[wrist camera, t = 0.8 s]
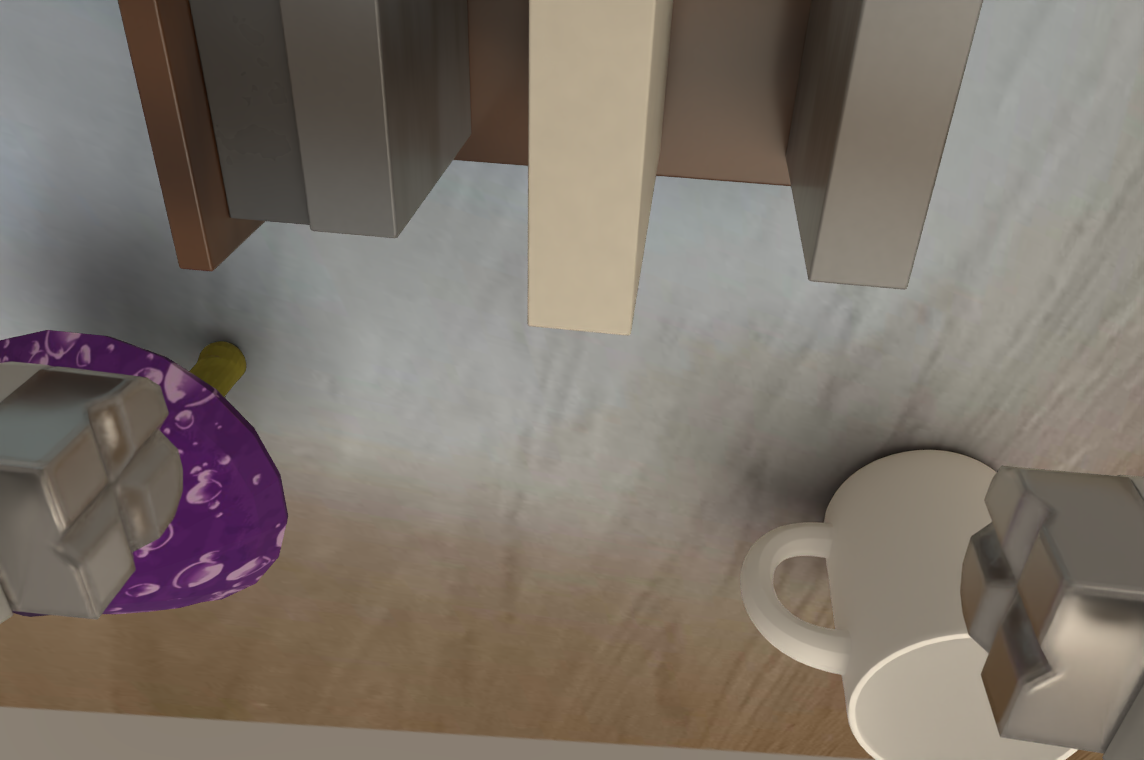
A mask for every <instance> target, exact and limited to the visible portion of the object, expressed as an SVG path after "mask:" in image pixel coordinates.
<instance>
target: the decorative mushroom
mask: <svg viewBox="0 0 1144 760" xmlns="http://www.w3.org/2000/svg"><path fill="white" fill-rule="evenodd" d="M4 362H22V363H32V364H42V365H49V366H53V367H56V366H60V367H68V368H76V369H84V370H92V371H100V372H108V373H116V374H124V375H132V376H140V377H147V378H149V379H150V380H152V381H153V382H155V383H156V384H158V385H159V386H160V387H161V390H162V393H163V397H164V400H165V403H166V406H167V410H168V413H169V414H168V416H167V418H166V419H165V421H164V423H163V424H162V426H161V428H160V429H159V430H160V431H161V432H162V433H163V434H164V435H165V436H166V438H167V439H168V440H169V441H170V442H171V443H172V444H173V445H174V446H175V447H176V448H177V449H178V451H179V455H180V459H181V463H182V468H183V492H182V495H181V498H180V501H179V504H178V508H177V511H176V514H175V517H174V519H173V520H172V522H171V523H170V524H169V526H168V527H167V529H166V530H165V531H164V533H163V534H162V536H161V537H160V538H159V539H157V540H155V541H153V542H151V543H149V544H147V545H146V546H144V547H142V548H140V549H138V550H136V551H134V552H133V555H134V562H135V568H136V570H135V571H134V573H133V574H132V575H131V576H130V578H129V579H128V580H127V582H126V583H125V584H124V586H123V587H122V588H121V589H120V591H119V592H118V593H117V595H116V596H115V597H114V599H113V600H112V601H111V602H110V604H109V605H108V606H107V608H106V609H105V610H104V612H103V613H102V614H125V613H138V612H149V611H158V610H166V609H174V608H181V607H185V606H189V605H192V604H196V603H200V602H206V601H213V600H219V599H223V598H226V597H228V596H230V595H232V594H234V593H236V592H238V591H240V590H243V589H245V588H247V587H249V586H251V585H253V584H255V583H257V581H258V580H259V579H260V578H261V577H262V576H263V574H264V573H265V572H266V571H267V570H268V569H269V567H270V566H271V565H272V564H273V563H274V562H275V560H276V559H277V558H278V557H279V553H280V549H281V545H282V541H283V536H284V532H285V528H286V524H287V519H288V513H287V507H286V502H285V497H284V491H283V486H282V481H281V476H280V473H279V471H278V469H277V467H276V466H275V464H274V462H273V460H272V459H271V457H270V455H269V453H268V452H267V450H266V448H265V446H264V444H263V443H262V441H261V439H260V437H259V436H258V434H257V432H256V430H255V429H254V427H253V426H252V425H251V424H250V423H249V422H248V421H247V420H246V419H245V418H244V417H243V416H242V415H241V414H240V413H239V412H238V411H237V410H236V409H235V408H234V407H233V406H232V405H231V404H230V403H229V402H228V401H227V400H226V399H225V398H224V397H225V395H226V394H227V393H228V392H229V390H230V389H231V388H232V387H233V385H234V384H235V383H236V382H237V381H238V380H239V379H240V378H241V376H242V375H243V374H244V373H245V371H246V361H245V357H244V355H243V354H242V352H241V351H240V350H239V349H238V348H237V347H236V346H234V345H233V344H231V343H228V342H223V341H218V342H214V343H211V344H209V345H207V346H206V347H205V348H204V349H203V350H202V351H201V353H200V355H199V358H198V361H197V363H196V365H195V366H194V367H193V368H192V369H191V370H190V371H187V370H186V369H184V368H183V367H181V366H180V365H178V364H177V363H175V362H173V361H172V360H170V359H169V358H167V357H165V356H162V355H159V354H156V353H154V352H151V351H148V350H145V349H143V348H140V347H137V346H135V345H132V344H129V343H126V342H124V341H121V340H118V339H115V338H112V337H108V336H102V335H92V334H82V333H72V332H62V331H52V330H45V331H40V332H36V333H31V334H27V335H22V336H18V337H13V338H9V339H4V340H0V363H4ZM12 612H13V613H16V614H19V615H22V616H29V617H33V616H44V615H48V614H38V613H29V612H19V611H12Z"/></svg>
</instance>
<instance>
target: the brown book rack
mask: <svg viewBox="0 0 1144 760" xmlns="http://www.w3.org/2000/svg"><path fill="white" fill-rule="evenodd" d="M982 3H983V0H673V8H672V20H671V31H670V43H669V54H668V66H667V77H666V89H665V101H664V112H663V124H662V135H661V147H660V154H659V160H658V166H657V172H656V176H667V177H680V178H693V179H706V180H719V181H732V182H745V183H757V184H770V185H783V186H791V188H792V194H793V199H794V204H795V210H796V215H797V221H798V226H799V231H800V237H801V242H802V248H803V253H804V258H805V264H806V269H807V275H808V279H809V281H814V282H826V283H837V284H848V285H860V286H871V287H883V288H894V289H906V288H907V287H908V283H909V279H910V275H911V272H912V268H913V264H914V260H915V256H916V253H917V249H918V245H919V241H920V237H921V234H922V230H923V226H924V222H925V219H926V215H927V211H928V207H929V203H930V200H931V196H932V192H933V188H934V185H935V181H936V177H937V173H938V169H939V166H940V162H941V158H942V154H943V150H944V147H945V143H946V139H947V135H948V132H949V128H950V124H951V120H952V116H953V113H954V109H955V105H956V101H957V97H958V94H959V90H960V86H961V82H962V79H963V75H964V71H965V67H966V63H967V60H968V56H969V52H970V48H971V45H972V41H973V37H974V33H975V29H976V26H977V22H978V18H979V14H980V10H981V7H982ZM118 4H119V8H120V12H121V17H122V21H123V25H124V30H125V34H126V38H127V43H128V47H129V51H130V56H131V60H132V64H133V68H134V73H135V77H136V81H137V86H138V90H139V94H140V99H141V103H142V107H143V112H144V116H145V120H146V125H147V129H148V133H149V138H150V142H151V146H152V151H153V155H154V159H155V164H156V168H157V172H158V177H159V181H160V185H161V190H162V194H163V198H164V203H165V207H166V211H167V216H168V220H169V224H170V229H171V233H172V237H173V241H174V246H175V250H176V254H177V259H178V263H179V267H180V268H181V269H191V270H202V271H213V270H215V269H216V268H217V267H218V266H219V265H220V264H221V263H222V262H223V261H224V260H225V259H226V258H227V257H228V256H229V255H230V254H231V253H232V252H233V251H234V250H236V249H237V248H238V247H239V246H240V245H241V244H242V243H243V242H244V241H245V240H246V239H247V238H248V237H249V236H250V235H251V234H252V233H253V232H254V231H255V230H256V229H258V228H259V227H260V226H261V225H262V224H263V223H264V222H265V221H271V222H283V223H294V224H306V225H310V229H311V230H312V231H319V232H331V233H342V234H354V235H365V236H377V237H388V238H397V237H398V236H399V234H400V233H401V232H402V230H403V229H404V228H405V226H406V225H407V223H408V222H409V221H410V219H411V218H412V216H413V215H414V214H415V212H416V211H417V209H418V208H419V207H420V205H421V204H422V202H423V201H424V200H425V198H426V197H427V195H428V194H429V193H430V191H431V190H432V188H433V187H434V186H435V184H436V183H437V181H438V180H439V179H440V177H441V176H442V174H443V173H444V172H445V170H446V169H447V167H448V166H449V165H450V163H451V162H452V160H462V161H475V162H487V163H500V164H513V165H526V166H528V124H529V0H118Z"/></svg>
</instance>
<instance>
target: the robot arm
mask: <svg viewBox="0 0 1144 760" xmlns="http://www.w3.org/2000/svg"><path fill="white" fill-rule="evenodd" d="M168 414H169V413H168V410H167V406H166V403H165V400H164V397H163V393H162V390H161V387H160V386H159V385H158V384H156V383H155V382H153V381H152V380H150V379H149V378H147V377H140V376H132V375H124V374H116V373H108V372H100V371H92V370H84V369H76V368H68V367H60V366H56V367H53V366H49V365H42V364H32V363H22V362H4V363H0V623H2V622H4V621H5V620H7V619H8V618H10V617H11V616H13V612H12V611H19V612H29V613H38V614H48V615H58V616H68V617H78V618H88V619H98V618H99V617H100V616H101V614H102V613H103V612H104V610H105V609H106V608H107V606H108V605H109V604H110V602H111V601H112V600H113V599H114V597H115V596H116V595H117V593H118V592H119V591H120V589H121V588H122V587H123V586H124V584H125V583H126V582H127V580H128V579H129V578H130V576H131V575H132V574H133V573H134V571H135V570H136V568H135V562H134V555H133V552H134V551H136V550H138V549H140V548H142V547H144V546H146V545H147V544H149V543H151V542H153V541H155V540H157V539H159V538H160V537H161V536H162V534H163V533H164V531H165V530H166V529H167V527H168V526H169V524H170V523H171V522H172V520H173V519H174V517H175V514H176V511H177V508H178V504H179V501H180V498H181V495H182V492H183V468H182V463H181V459H180V455H179V451H178V449H177V448H176V447H175V446H174V445H173V444H172V443H171V442H170V441H169V440H168V439H167V438H166V436H165V435H164V434H163V433H162V432H161V431H160V430H159V429H160V428H161V426H162V424H163V423H164V421H165V419H166V418H167V416H168ZM984 501H985V504H986V507H987V509H988V512H989V515H990V517H991V520H992V522H991V523H990V524H988V525H987V526H985V527H984V528H982V529H981V530H979V531H978V532H977V533H975V534H974V535H972V536H971V538H970V541H969V544H968V547H967V551H966V554H965V557H964V560H963V563H962V574H961V586H960V596H961V604H962V613H963V617H964V620H965V624H966V628H967V631H968V635H969V636H970V637H971V638H972V639H973V640H974V641H976V642H977V643H978V644H979V645H980V646H981V647H982V648H983V649H984V650H985V651H986V652H988V653H989V654H988V657H987V659H986V662H985V664H984V667H983V669H982V672H981V678H982V681H983V684H984V687H985V690H986V694H987V697H988V700H989V703H990V706H991V710H992V713H993V716H994V719H995V722H996V726H997V729H998V732H999V735H1000V737H1002V738H1008V739H1015V740H1021V741H1028V742H1034V743H1040V744H1047V745H1053V746H1060V747H1066V748H1072V749H1079V750H1085V751H1092V752H1098V753H1104V755H1103V757H1102V758H1103V759H1104V760H1144V477H1142V476H1128V475H1118V476H1110V475H1099V474H1089V473H1078V472H1067V471H1056V470H1045V469H1034V468H1023V467H1012V466H1001V467H1000V469H999V470H998V471H997V473H996V474H995V475H994V477H993V478H992V480H991V483H990V485H989V488H988V491H987V493H986V496H985V499H984Z"/></svg>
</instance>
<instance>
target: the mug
mask: <svg viewBox="0 0 1144 760" xmlns="http://www.w3.org/2000/svg"><path fill="white" fill-rule="evenodd" d="M996 473H997V472H995V471H994V470H993V469H992V468H990V467H988V466H987V465H985V464H983V463H981V462H980V461H978V460H975V459H973V458H970V457H968V456H965V455H961V454H958V453H954V452H948V451H941V450H915V451H907V452H901V453H897V454H893V455H889V456H887V457H884V458H881V459H878V460H876V461H874V462H872V463H870V464H868V465H866V466H864V467H863V468H861V469H859V470H858V471H856V472H855V473H854V474H852V475H851V476H850V477H849V478H848V479H847V480H846V481H845V482H844V483H843V484H842V485H841V486H840V487H839V489H838V490H837V491H836V492H835V494H834V496H833V498H832V499H831V501H830V503H829V505H828V507H827V510H826V513H825V519H824V523H819V522H804V523H794V524H788V525H785V526H781V527H778V528H776V529H774V530H771V531H769V532H768V533H766V534H765V535H764V536H762V537H761V538H759V539H758V540H757V541H756V542H755V543H754V544H753V545H752V546H751V548H750V550H749V551H748V553H747V555H746V557H745V559H744V562H743V565H742V568H741V575H740V585H741V594H742V599H743V602H744V606H745V609H746V611H747V613H748V615H749V617H750V619H751V621H752V622H753V623H754V625H755V626H756V628H757V629H758V630H759V632H760V633H761V634H762V635H763V636H764V637H765V638H766V639H767V640H768V641H769V642H770V643H771V644H772V645H773V646H775V647H776V648H777V649H779V650H780V651H781V652H783V653H784V654H786V655H788V656H789V657H791V658H793V659H795V660H796V661H799V662H801V663H803V664H806V665H808V666H811V667H814V668H817V669H820V670H823V671H827V672H831V673H836V674H841V675H842V679H843V686H844V692H845V700H846V709H847V716H848V722H849V725H850V728H851V730H852V733H853V734H854V736H855V738H856V739H857V741H858V742H859V744H860V745H861V746H862V747H863V748H864V749H865V751H866V752H867V753H869V754H870V755H871V756H872V757H873V758H875V759H876V760H1065V759H1067V758H1068V757H1069V756H1071V755H1072V754H1073V753H1075V752H1076V751H1077V750H1078V749H1072V748H1066V747H1060V746H1053V745H1047V744H1040V743H1034V742H1028V741H1021V740H1015V739H1008V738H1002V737H1000V735H999V732H998V729H997V726H996V722H995V719H994V716H993V713H992V710H991V706H990V703H989V700H988V697H987V694H986V690H985V687H984V684H983V681H982V678H981V672H982V669H983V667H984V664H985V662H986V659H987V657H988V654H989V653H988V652H986V651H985V650H984V649H983V648H982V647H981V646H980V645H979V644H978V643H977V642H976V641H974V640H973V639H972V638H971V637H970V636H969V635H968V631H967V628H966V624H965V620H964V617H963V613H962V604H961V596H960V586H961V574H962V563H963V560H964V557H965V554H966V551H967V547H968V544H969V541H970V538H971V536H972V535H974V534H975V533H977V532H978V531H979V530H981V529H982V528H984V527H985V526H987V525H988V524H990V523H991V522H992V520H991V517H990V515H989V512H988V509H987V507H986V504H985V501H984V499H985V496H986V493H987V491H988V488H989V485H990V483H991V480H992V478H993V477H994V475H995V474H996ZM795 556H817V557H824V558H826V564H827V570H828V577H829V585H830V594H831V601H832V609H833V616H834V623H835V629H829V628H824V627H819V626H816V625H813V624H810V623H807V622H805V621H803V620H801V619H799V618H797V617H796V616H794V615H793V614H791V613H790V612H789V611H788V610H787V609H786V608H785V607H784V606H783V605H782V604H781V602H780V601H779V599H778V597H777V595H776V592H775V590H774V586H773V575H774V571H775V569H776V567H777V566H778V565H779V563H781V562H782V561H783V560H785V559H787V558H791V557H795Z"/></svg>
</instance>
